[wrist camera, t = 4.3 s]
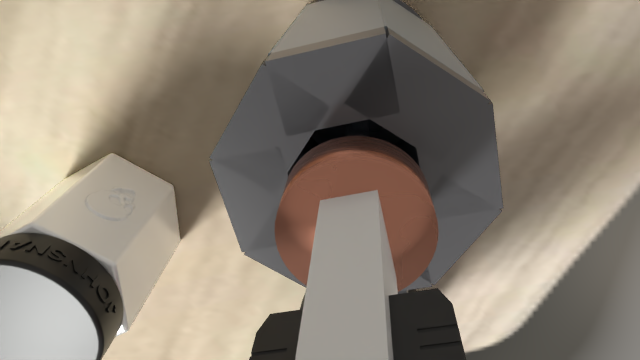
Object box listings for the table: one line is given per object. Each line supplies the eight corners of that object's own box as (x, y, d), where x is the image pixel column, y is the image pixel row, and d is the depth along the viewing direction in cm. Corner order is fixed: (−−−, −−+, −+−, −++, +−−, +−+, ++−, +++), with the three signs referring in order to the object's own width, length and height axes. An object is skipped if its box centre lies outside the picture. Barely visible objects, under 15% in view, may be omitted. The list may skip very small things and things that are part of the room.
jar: (205, 197, 35) (135, 315, 24) (159, 278, 38) (80, 414, 27) (83, 131, 33) (-51, 225, 22) (46, 221, 36) (-86, 341, 26)
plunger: (313, 160, 27) (279, 334, 15) (284, 51, 25) (215, 156, 13) (425, 138, 26) (480, 307, 14) (406, 22, 24) (454, 108, 12)
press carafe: (311, 194, 34) (278, 368, 20) (260, 10, 29) (172, 76, 15) (453, 168, 32) (521, 337, 19) (424, -31, 27) (490, 1, 14)
